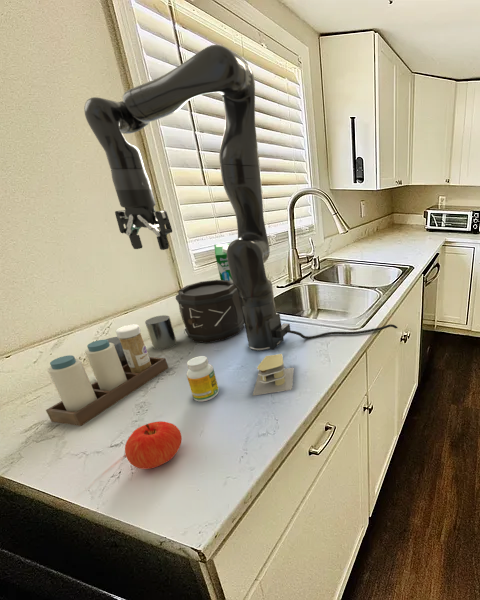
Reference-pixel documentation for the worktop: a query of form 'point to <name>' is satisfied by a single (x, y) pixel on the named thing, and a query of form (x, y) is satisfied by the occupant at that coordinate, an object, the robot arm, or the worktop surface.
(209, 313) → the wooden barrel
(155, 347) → the grey tins
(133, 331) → the sprinkles bottle
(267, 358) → the stacked layers on plate
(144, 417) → the worktop surface
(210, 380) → the supplement bottle
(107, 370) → the off-white bottles
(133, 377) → the spice rack
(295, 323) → the worktop surface
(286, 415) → the worktop surface
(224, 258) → the milk carton
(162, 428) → the apple
